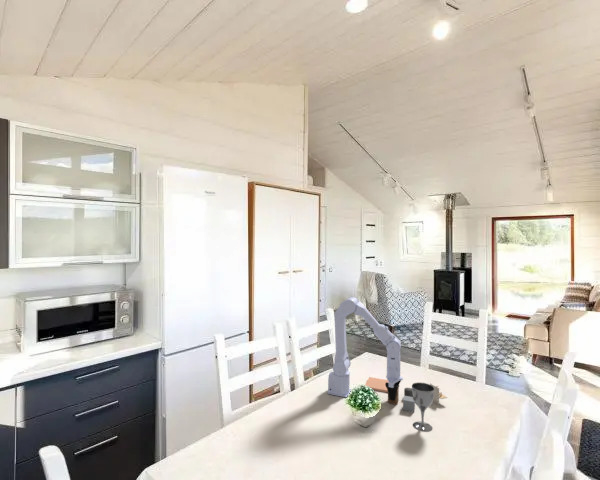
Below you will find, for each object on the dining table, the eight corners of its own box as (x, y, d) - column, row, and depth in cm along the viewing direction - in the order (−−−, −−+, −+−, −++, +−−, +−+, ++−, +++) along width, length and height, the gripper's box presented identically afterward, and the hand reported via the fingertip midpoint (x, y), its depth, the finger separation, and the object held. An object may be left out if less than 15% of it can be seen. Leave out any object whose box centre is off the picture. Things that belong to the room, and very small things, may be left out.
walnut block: (387, 402, 149) (387, 389, 149) (389, 398, 153) (389, 385, 153) (397, 404, 147) (397, 390, 147) (398, 400, 151) (398, 387, 151)
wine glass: (430, 434, 125) (430, 393, 125) (408, 427, 129) (408, 387, 129) (436, 425, 131) (436, 386, 131) (415, 418, 136) (415, 380, 136)
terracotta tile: (364, 388, 163) (364, 386, 163) (369, 379, 174) (369, 377, 174) (392, 393, 158) (392, 391, 158) (395, 383, 169) (395, 381, 169)
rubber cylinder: (403, 399, 152) (403, 390, 152) (404, 395, 156) (404, 387, 156) (413, 401, 151) (413, 392, 151) (414, 397, 154) (414, 388, 154)
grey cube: (402, 410, 142) (403, 399, 142) (404, 405, 146) (404, 395, 146) (414, 412, 141) (414, 402, 141) (415, 407, 145) (415, 397, 145)
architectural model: (435, 398, 154) (435, 382, 154) (447, 405, 148) (447, 388, 148) (429, 399, 153) (429, 383, 153) (440, 407, 146) (440, 389, 147)
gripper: (401, 373, 142) (400, 406, 142) (404, 362, 155) (404, 392, 155) (383, 371, 144) (383, 403, 144) (388, 360, 158) (388, 389, 158)
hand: (393, 397), depth 150 cm, fingers open, 4 cm apart
